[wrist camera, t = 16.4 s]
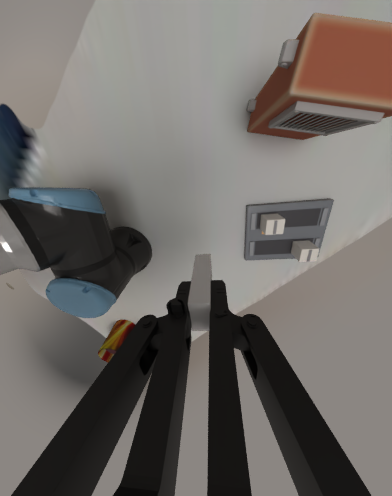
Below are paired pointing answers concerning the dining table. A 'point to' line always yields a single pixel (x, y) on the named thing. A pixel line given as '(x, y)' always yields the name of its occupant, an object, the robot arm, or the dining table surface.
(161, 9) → the dining table surface
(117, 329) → the mug
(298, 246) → the tab back
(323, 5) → the dining table surface
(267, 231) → the tab front
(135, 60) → the dining table surface
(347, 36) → the orange rectangular box
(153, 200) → the dining table surface
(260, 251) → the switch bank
